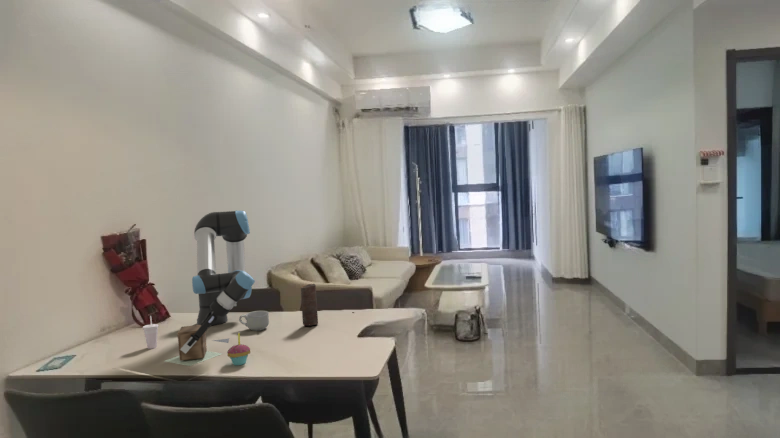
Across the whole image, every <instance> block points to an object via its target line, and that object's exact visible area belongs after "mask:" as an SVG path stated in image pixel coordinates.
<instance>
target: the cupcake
mask: <svg viewBox="0 0 780 438" xmlns="http://www.w3.org/2000/svg"><path fill="white" fill-rule="evenodd" d="M226 354H227V357H228V358H230V360H231V362H232V364H233V365H234V366H241V365H245V364H247V360H248V356H249V354H251V348H250V347H249V346H248V345H247V344H241V333H240V332H238V334H237V345H236V344H234V345H233V346H230V348H229V349H228V350H227V353H226Z"/></svg>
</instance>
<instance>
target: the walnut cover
mask: <svg viewBox="0 0 780 438" xmlns="http://www.w3.org/2000/svg"><path fill="white" fill-rule="evenodd" d="M200 326H201V325H197V324H195V325H194V324H193V325H186V326H181V327H180V328H179V330H178V331H177V342H178V354H179V355H178V356H179V357H180V361H181V360H189V359H197V358H204V357H205V354H206V351H208V347H207V335H206V334H207V333H206V332H205V333H204V334H203V335H202V336H201V337H200V338H199V340H198V341H197V342H196V343H195V344H194V345H193V346H192V347H191V348H190V349H189V351H188V352H187V353H186V354H185V353H184V352H183V351H181V350H180V349H181V348H182V347H183V346H184V344H185V343H186V342H187V341H188V340H189V339H190V338H191V335H194V334H195V333H196V331H197V330H198V329H199V328H200ZM196 336H197V335H196ZM197 337H198V336H197Z"/></svg>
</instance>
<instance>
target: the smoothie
mask: <svg viewBox="0 0 780 438" xmlns="http://www.w3.org/2000/svg"><path fill="white" fill-rule="evenodd" d="M149 319H150V324H146V325H144V326H142V330H143V333H144V337H145V338H144V339H145V343H146V347H147V349H148V350H149V349H150V350H151V349H156V348H157V347H158V331H159V324H157V323H153V321H152V320H153V319H152V315H149Z"/></svg>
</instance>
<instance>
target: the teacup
mask: <svg viewBox="0 0 780 438" xmlns="http://www.w3.org/2000/svg"><path fill="white" fill-rule="evenodd" d="M269 314H270V313H269V311H267V310H254V311H250V312H248V313H246V314H241V315H239V318H238V321H239V322H240V324H242V325H244V326H245V327H247V328H248V329H249V330H250V331H256V332H259V331H263V330H265V329H267V328H268V326H269V323H270V319H269V317H270V315H269ZM242 318H244V320H245V321H246V322H244V321H243V320H242Z"/></svg>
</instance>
